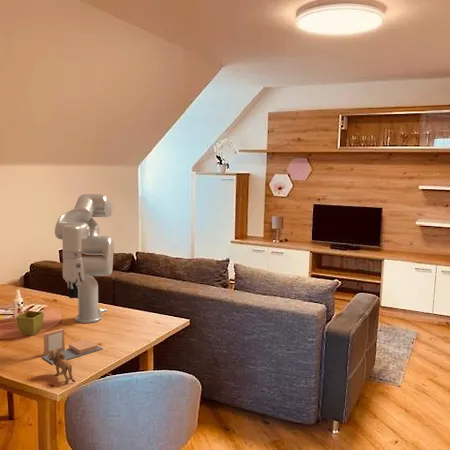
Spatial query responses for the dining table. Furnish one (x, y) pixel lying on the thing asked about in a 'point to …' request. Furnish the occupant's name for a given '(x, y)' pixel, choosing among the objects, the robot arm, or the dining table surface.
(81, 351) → the tile
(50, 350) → the tile
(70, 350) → the felt mat
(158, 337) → the dining table surface
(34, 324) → the flower pot
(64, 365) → the lion figurine
